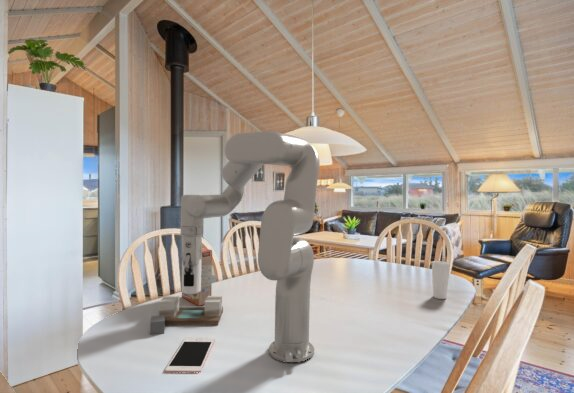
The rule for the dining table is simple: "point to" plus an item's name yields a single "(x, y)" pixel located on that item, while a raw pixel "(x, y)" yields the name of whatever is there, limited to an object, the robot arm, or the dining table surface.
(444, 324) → the dining table surface
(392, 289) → the dining table surface
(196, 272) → the can
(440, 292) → the drinking glass
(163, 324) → the block
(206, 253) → the cracker box
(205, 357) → the cell phone
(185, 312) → the mounting board
